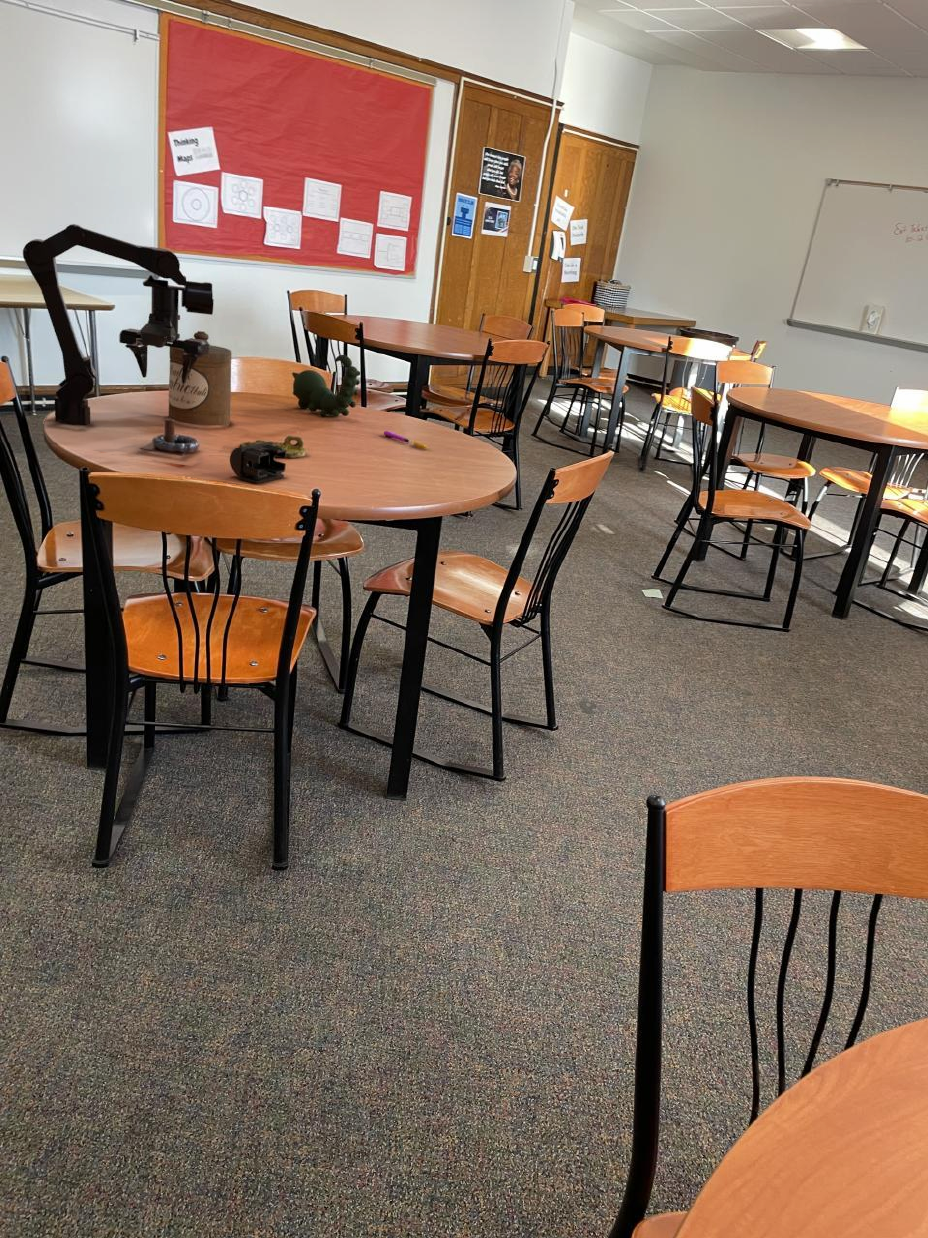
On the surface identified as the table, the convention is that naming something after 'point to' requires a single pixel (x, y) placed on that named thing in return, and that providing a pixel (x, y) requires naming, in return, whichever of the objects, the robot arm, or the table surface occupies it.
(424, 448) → the purple paintbrush
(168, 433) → the stand
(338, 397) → the toy figurine
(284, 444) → the seal
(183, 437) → the ring
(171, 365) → the wooden container
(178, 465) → the table surface
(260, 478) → the end cap
